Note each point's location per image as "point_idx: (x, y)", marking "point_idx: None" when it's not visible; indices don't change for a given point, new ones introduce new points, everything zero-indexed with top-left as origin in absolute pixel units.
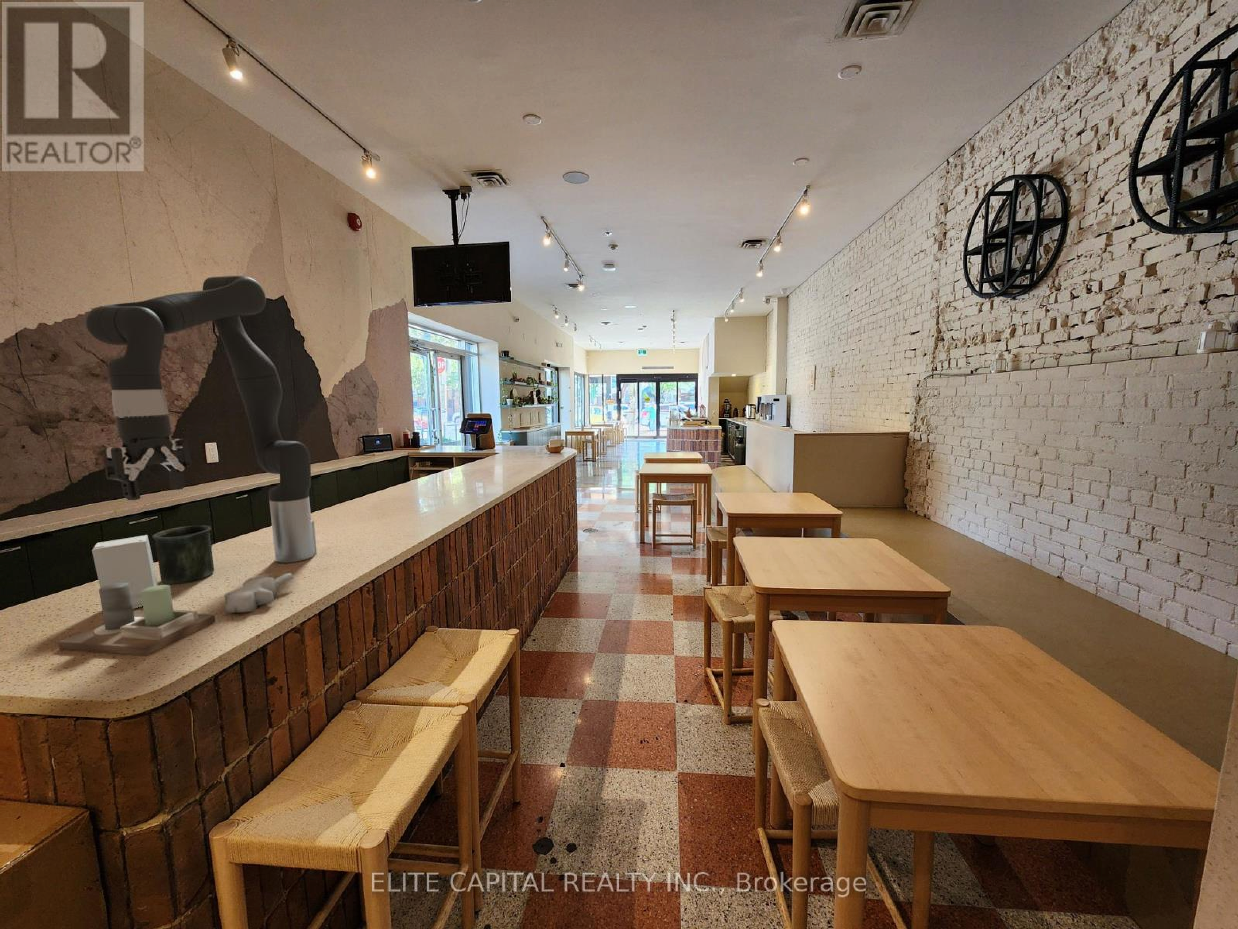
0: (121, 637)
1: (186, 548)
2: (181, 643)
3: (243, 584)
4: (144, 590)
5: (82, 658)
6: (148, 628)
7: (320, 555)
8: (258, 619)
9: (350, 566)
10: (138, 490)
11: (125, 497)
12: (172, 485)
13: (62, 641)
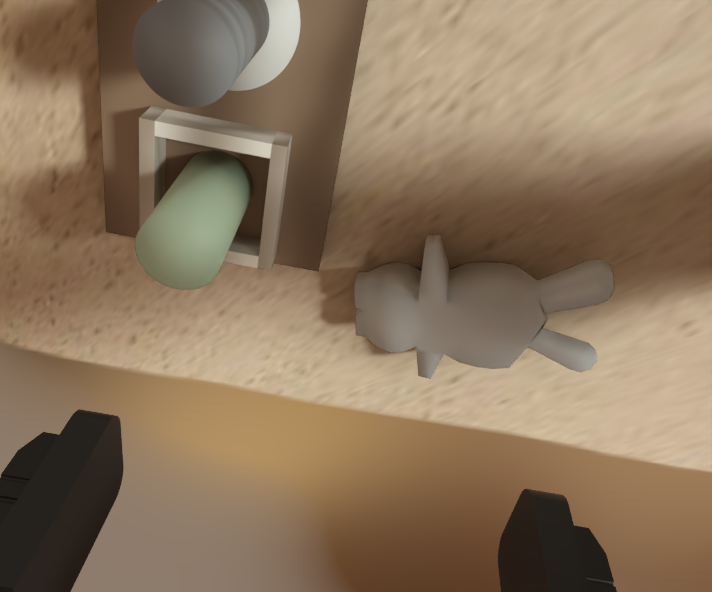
0: (151, 105)
1: None
2: None
3: (461, 306)
4: (158, 226)
5: (71, 42)
6: (142, 218)
7: None
8: (332, 357)
9: None
10: (82, 555)
11: (44, 435)
12: (529, 532)
13: None
